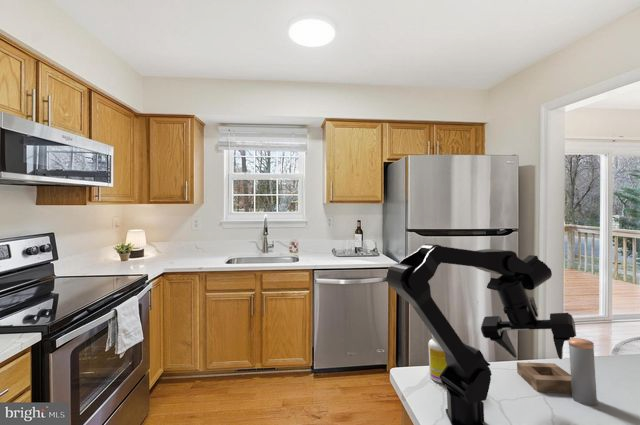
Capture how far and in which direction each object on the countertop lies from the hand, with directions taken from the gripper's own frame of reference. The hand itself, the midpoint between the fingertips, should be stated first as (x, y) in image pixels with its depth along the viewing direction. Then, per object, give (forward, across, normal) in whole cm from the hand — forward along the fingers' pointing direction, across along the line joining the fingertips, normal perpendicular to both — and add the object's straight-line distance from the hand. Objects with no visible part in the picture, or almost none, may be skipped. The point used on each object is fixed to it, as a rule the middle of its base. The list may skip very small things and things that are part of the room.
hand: (537, 357), depth 74 cm
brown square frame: (+14, +2, -9) cm, 17 cm away
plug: (+14, -5, -4) cm, 16 cm away
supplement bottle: (+5, +24, +4) cm, 25 cm away
